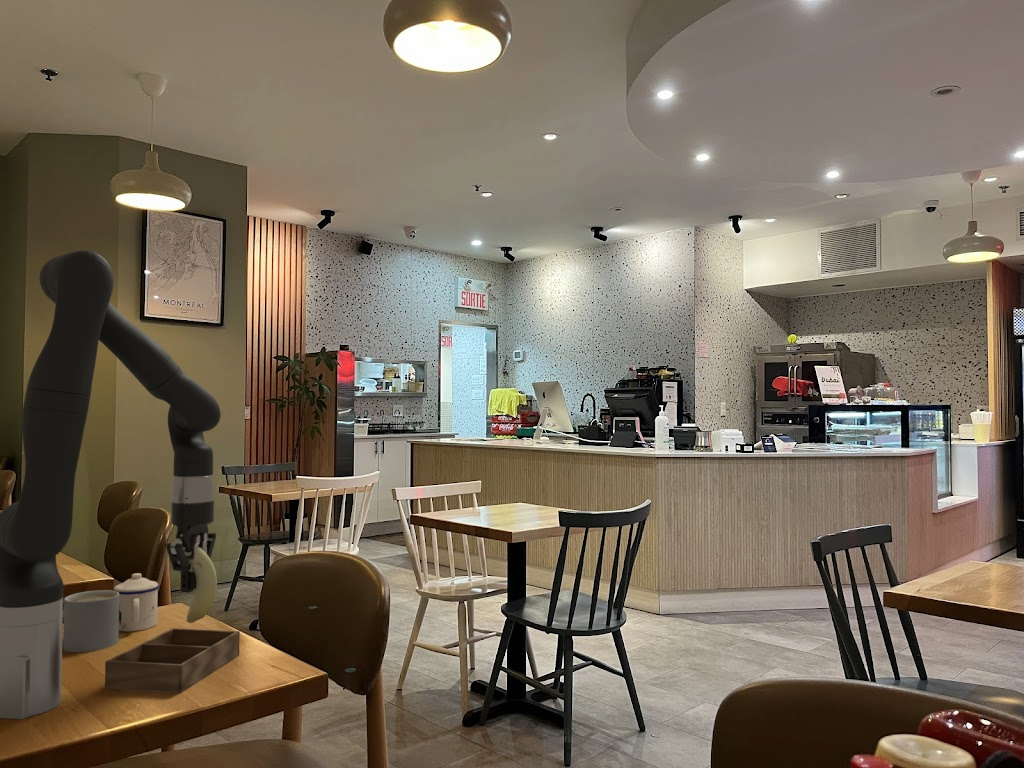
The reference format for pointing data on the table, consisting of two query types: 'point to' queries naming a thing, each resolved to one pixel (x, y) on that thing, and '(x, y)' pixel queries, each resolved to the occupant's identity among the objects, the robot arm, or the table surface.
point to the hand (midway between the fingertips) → (191, 589)
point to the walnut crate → (172, 660)
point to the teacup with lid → (137, 603)
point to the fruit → (202, 585)
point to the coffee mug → (91, 621)
